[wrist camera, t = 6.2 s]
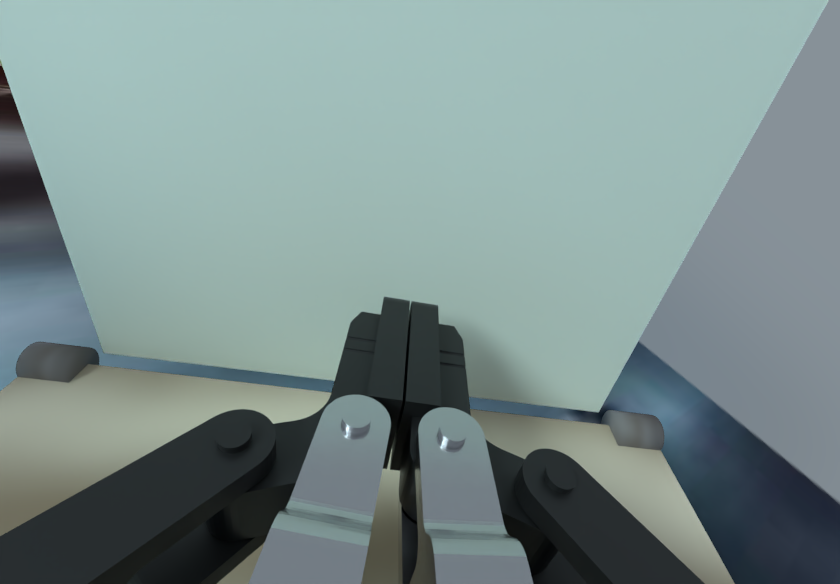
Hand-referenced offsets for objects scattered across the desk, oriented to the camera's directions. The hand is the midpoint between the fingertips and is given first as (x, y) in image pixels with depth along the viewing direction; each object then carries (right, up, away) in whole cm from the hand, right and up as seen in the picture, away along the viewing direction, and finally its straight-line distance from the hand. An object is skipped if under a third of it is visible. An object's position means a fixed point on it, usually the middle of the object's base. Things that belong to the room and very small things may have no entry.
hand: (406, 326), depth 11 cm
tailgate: (-2, -2, +5) cm, 5 cm away
